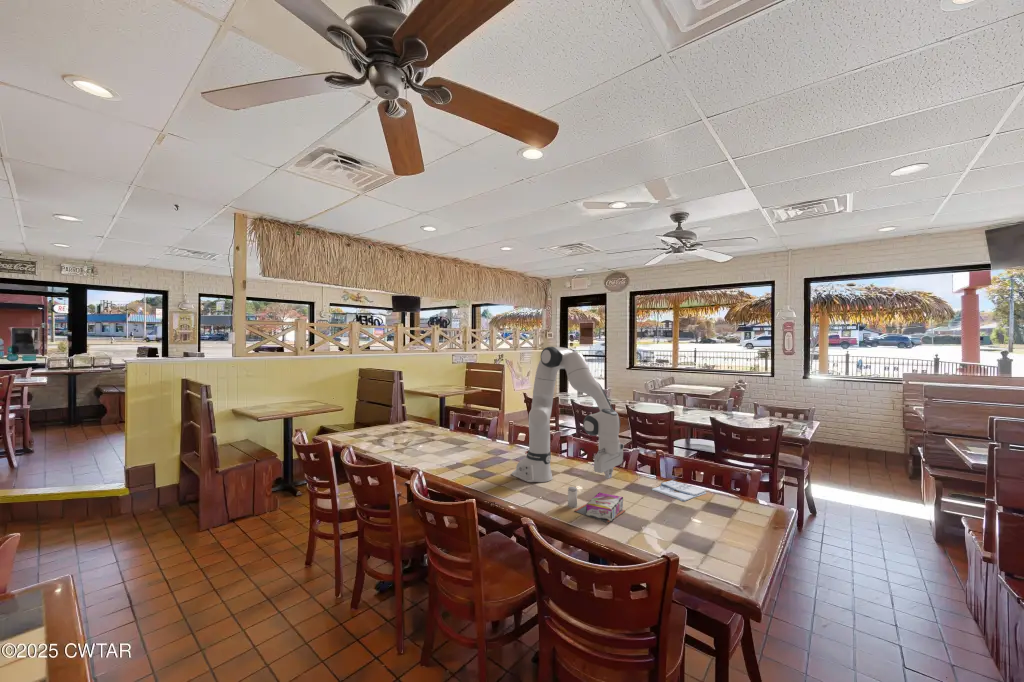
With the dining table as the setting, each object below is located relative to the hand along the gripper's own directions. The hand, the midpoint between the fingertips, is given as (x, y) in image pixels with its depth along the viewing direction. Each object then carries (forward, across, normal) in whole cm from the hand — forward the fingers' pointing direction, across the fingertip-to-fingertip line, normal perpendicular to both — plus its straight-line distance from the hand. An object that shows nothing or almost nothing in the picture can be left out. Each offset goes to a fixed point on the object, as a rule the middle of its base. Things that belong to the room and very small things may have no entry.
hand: (608, 478), depth 178 cm
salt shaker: (+13, -10, +12) cm, 20 cm away
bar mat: (+13, -7, 0) cm, 14 cm away
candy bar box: (+10, +2, 0) cm, 10 cm away
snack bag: (+13, +41, -16) cm, 46 cm away
